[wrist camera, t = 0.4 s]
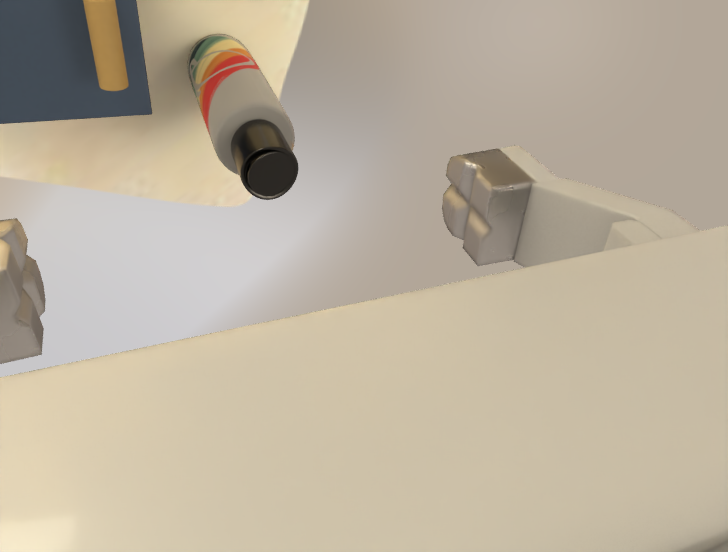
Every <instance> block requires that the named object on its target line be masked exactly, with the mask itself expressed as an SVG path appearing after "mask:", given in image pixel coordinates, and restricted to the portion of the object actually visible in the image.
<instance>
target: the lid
mask: <svg viewBox="0 0 728 552" xmlns="http://www.w3.org/2000/svg"><path fill="white" fill-rule="evenodd" d="M149 114H152V109H151V102H150V95H149V88H148V81H147V74H146V66H145V59H144V52H143V45H142V38H141V31H140V24H139V17H138V9H137V2H136V0H0V124H5V123H21V122H37V121H53V120H69V119H85V118H101V117H117V116H133V115H149Z"/></svg>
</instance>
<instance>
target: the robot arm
mask: <svg viewBox="0 0 728 552" xmlns="http://www.w3.org/2000/svg"><path fill="white" fill-rule="evenodd" d="M446 176H447V178H448V179H449V181H450V182H451V185H450V186H449V188H448V189H447V190H446V192H445V193H444V195H443V205H442V210H443V217H444V221H445V224H446V226H447V228H448V230H449V231H450V232H451V234H452V235H453V236H455V237H457V238H460V239H462V240H464V244H463V249H464V250H465V251H466V252H467V254H468V255H469V256H470V257H471V258H472V260H473V261H474V262H475V263H476V265H477V266H480V265H487V264H492V263H498V262H503V261H509V260H514V262H516V263H518V264H519V265H521V266H523V267H525V268H521V269H516V270H511V271H506V272H502V273H497V274H492V275H487V276H483V277H478V278H473V279H468V280H464V281H459V282H454V283H449V284H445V285H440V286H435V287H431V288H426V289H421V290H416V291H411V292H406V293H401V294H397V295H392V296H387V297H383V298H378V299H373V300H368V301H363V302H358V303H354V304H349V305H344V306H339V307H335V308H330V309H325V310H320V311H315V312H311V313H306V314H302V315H296V316H292V317H287V318H282V319H277V320H273V321H268V322H263V323H258V324H253V325H249V326H244V327H239V328H234V329H229V330H225V331H220V332H215V333H210V334H206V335H201V336H196V337H191V338H186V339H182V340H177V341H172V342H167V343H163V344H158V345H153V346H149V347H143V348H139V349H134V350H129V351H125V352H120V353H115V354H110V355H105V356H100V357H96V358H91V359H86V360H82V361H76V362H72V363H67V364H62V365H57V366H53V367H48V368H43V369H38V370H33V371H29V372H24V373H19V374H14V375H10V376H5V377H0V552H728V225H727V226H722V227H717V228H712V229H708V230H703V231H700V230H699V229H697V228H696V227H695V226H693V225H692V224H690V223H689V222H688V221H686V220H685V219H684V218H682V217H681V216H680V215H678V214H677V213H676V212H674V211H673V210H670V209H667V208H663V207H660V206H657V205H654V204H650V203H647V202H644V201H640V200H637V199H634V198H630V197H627V196H624V195H620V194H617V193H614V192H610V191H606V190H604V189H600V188H597V187H593V186H590V185H587V184H584V183H580V182H577V181H574V180H570V179H567V178H565V179H559V178H558V177H557V176H556V175H554V174H553V173H552V172H551V171H549V170H548V169H547V168H546V167H545V166H543V165H542V164H541V163H540V162H539V161H538V160H536V159H535V158H534V157H533V156H532V155H530V154H529V153H528V152H527V151H525V150H524V149H523V148H522V147H520V146H515V145H514V146H509V147H504V148H499V149H492V150H487V151H481V152H475V153H469V154H463V155H457V156H453V157H451V158H450V161H449V163H448V166H447V173H446ZM27 243H28V239H27V237H26V234H25V232H24V229H23V227H22V225H21V223H20V222H19V221H18V219H8V220H0V364H2V363H7V362H11V361H15V360H20V359H24V358H28V357H33V356H38V355H41V354H42V342H43V326H42V323H41V321H40V318H39V317H40V315H42V314H43V313H44V311H45V294H44V286H43V282H42V278H41V274H40V271H39V268H38V265H37V263H36V260H34V259H32V258H31V257H29V256H28V255H26V252H27Z"/></svg>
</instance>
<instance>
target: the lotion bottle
mask: <svg viewBox="0 0 728 552" xmlns="http://www.w3.org/2000/svg"><path fill="white" fill-rule="evenodd" d="M188 74H189V78H190V81H191V84H192V87H193V90H194V93H195V95H196V98H197V101H198V104H199V107H200V110H201V112H202V115H203V118H204V121H205V124H206V126H207V129H208V132H209V135H210V138H211V141H212V143H213V146H214V149H215V151H216V153H217V156H218V158H219V159H220V161H221V162H222V163H223V164H224V166H225V167H227V168H228V169H229V170H230V171H232V172H234V173H236V174H238V175H240V178H241V180H242V183H243V185H244V186H245V188H246V189H247V190H248V191H249V192H250V193H251V194H252V195H254V196H255V197H257V198H260V199H266V200H270V199H275V198H278V197H280V196H282V195H284V194H285V193H286V192H287V191H288V190H289V189H290V188H291V187H292V185H293V184H294V182H295V180H296V177H297V174H298V163H297V159H296V157H295V155H294V154H293V152H292V150H293V147H294V141H295V140H294V139H295V137H294V129H293V126H292V123H291V121H290V119H289V117H288V116H287V114H286V112H285V110H284V109H283V107H282V105H281V104H280V102H279V100H278V99H277V97H276V95H275V94H274V92H273V90H272V89H271V87H270V85H269V84H268V82H267V80H266V79H265V77H264V75H263V74H262V72H261V70H260V69H259V67H258V65H257V64H256V62H255V60H254V59H253V57H252V55H251V54H250V52H249V51H248V49H247V48H246V47H245V46H244V45H243V44H242V43H241V42H240V41H238V40H237V39H235V38H233V37H231V36H228V35H222V34H216V35H211V36H207V37H205V38H203V39H202V40H200V41H199V42H198V43H197V44H196V45H195V46H194V47H193V49H192V51H191V53H190V55H189V59H188Z"/></svg>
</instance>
